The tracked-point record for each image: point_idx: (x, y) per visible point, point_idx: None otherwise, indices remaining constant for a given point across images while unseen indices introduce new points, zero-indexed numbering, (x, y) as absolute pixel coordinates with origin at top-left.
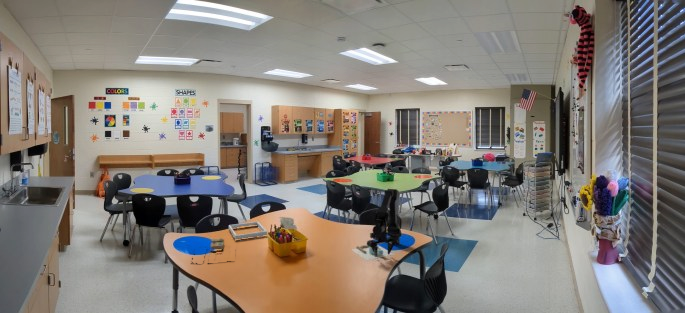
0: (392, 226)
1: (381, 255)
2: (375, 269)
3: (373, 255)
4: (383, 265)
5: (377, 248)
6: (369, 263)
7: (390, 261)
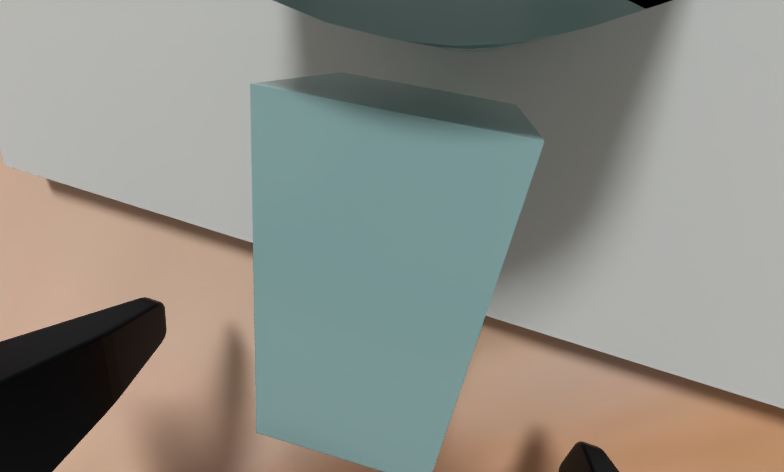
0: None
1: None
2: None
3: (306, 28)
4: (221, 451)
5: (510, 38)
6: (56, 267)
7: None
